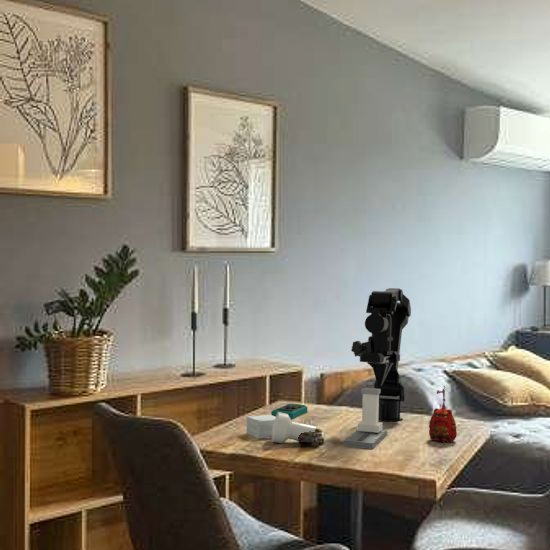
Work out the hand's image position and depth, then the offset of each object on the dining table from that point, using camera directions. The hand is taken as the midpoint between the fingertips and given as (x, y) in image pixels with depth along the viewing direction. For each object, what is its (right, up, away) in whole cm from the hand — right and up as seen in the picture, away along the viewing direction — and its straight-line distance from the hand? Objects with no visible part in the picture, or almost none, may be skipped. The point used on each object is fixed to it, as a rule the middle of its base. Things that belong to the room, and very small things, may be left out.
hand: (379, 386), depth 236 cm
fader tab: (-4, -11, -11) cm, 16 cm away
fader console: (-6, -13, -16) cm, 21 cm away
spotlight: (-27, -13, -21) cm, 36 cm away
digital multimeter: (-26, -13, +20) cm, 35 cm away
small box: (-34, -13, -11) cm, 38 cm away
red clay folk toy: (+16, -14, -14) cm, 25 cm away
